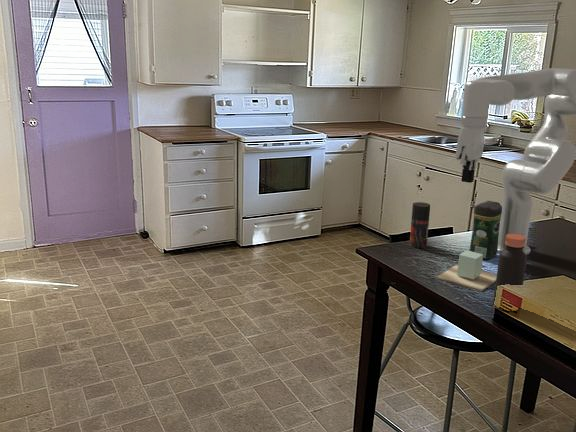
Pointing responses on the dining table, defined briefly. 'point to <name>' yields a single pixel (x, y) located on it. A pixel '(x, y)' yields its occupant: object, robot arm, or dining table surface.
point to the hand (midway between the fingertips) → (467, 181)
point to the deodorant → (419, 225)
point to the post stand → (477, 283)
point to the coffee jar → (486, 229)
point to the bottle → (511, 262)
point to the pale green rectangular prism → (470, 264)
